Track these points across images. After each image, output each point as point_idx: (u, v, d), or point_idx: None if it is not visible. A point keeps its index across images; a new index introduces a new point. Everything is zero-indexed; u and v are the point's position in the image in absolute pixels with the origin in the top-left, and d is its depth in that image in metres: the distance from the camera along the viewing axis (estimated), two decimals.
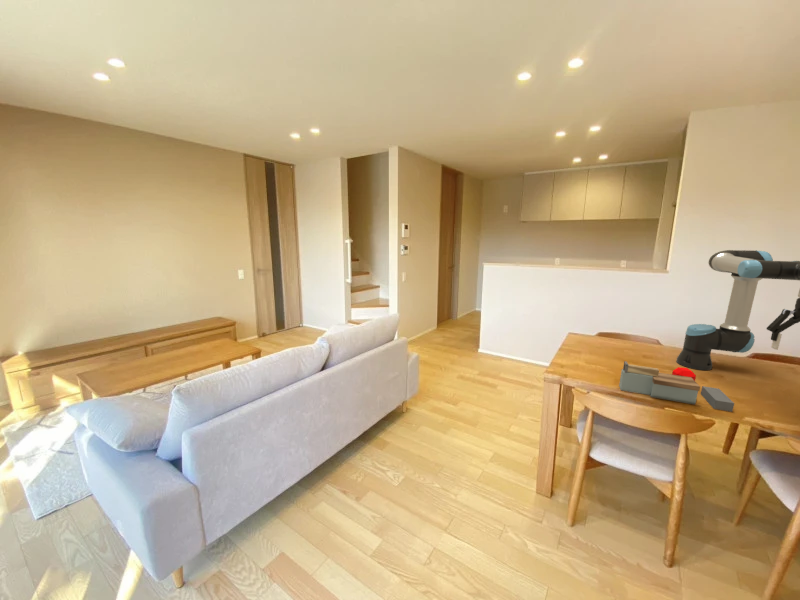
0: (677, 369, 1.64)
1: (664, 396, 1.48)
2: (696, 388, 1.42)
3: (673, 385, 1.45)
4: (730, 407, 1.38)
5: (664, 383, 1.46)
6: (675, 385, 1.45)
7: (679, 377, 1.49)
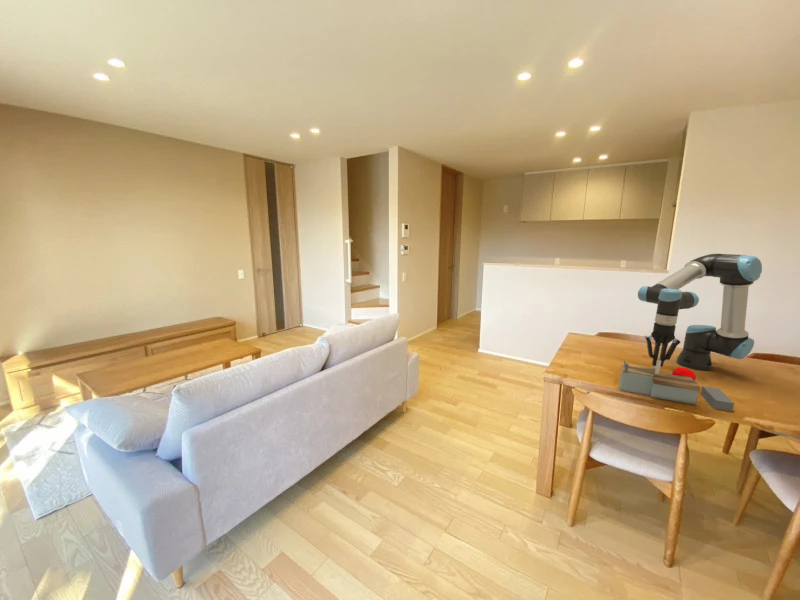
0: (677, 369, 1.64)
1: (664, 396, 1.48)
2: (696, 388, 1.42)
3: (673, 385, 1.45)
4: (730, 407, 1.38)
5: (664, 383, 1.46)
6: (675, 385, 1.45)
7: (679, 377, 1.49)
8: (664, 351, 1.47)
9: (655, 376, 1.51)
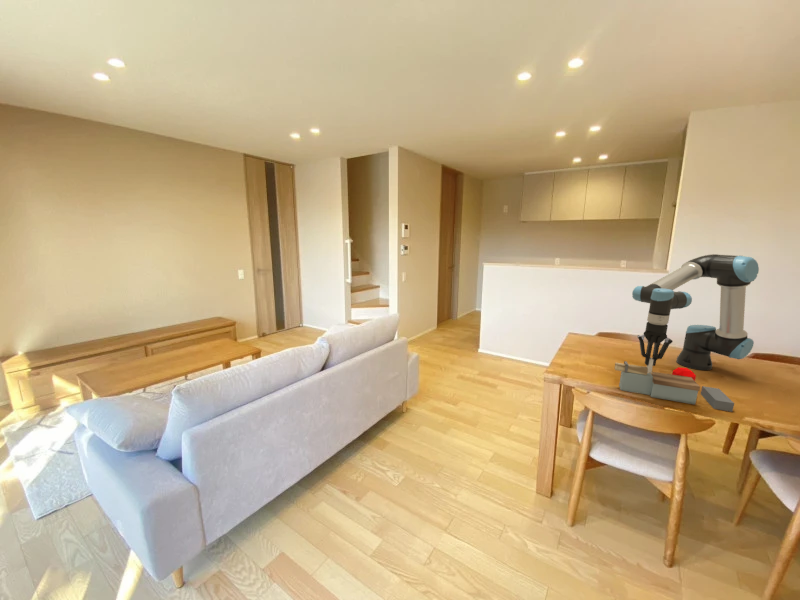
0: (677, 369, 1.64)
1: (664, 396, 1.48)
2: (696, 388, 1.42)
3: (673, 385, 1.45)
4: (730, 407, 1.38)
5: (664, 383, 1.46)
6: (675, 385, 1.45)
7: (679, 377, 1.49)
8: (656, 350, 1.48)
9: (655, 376, 1.51)
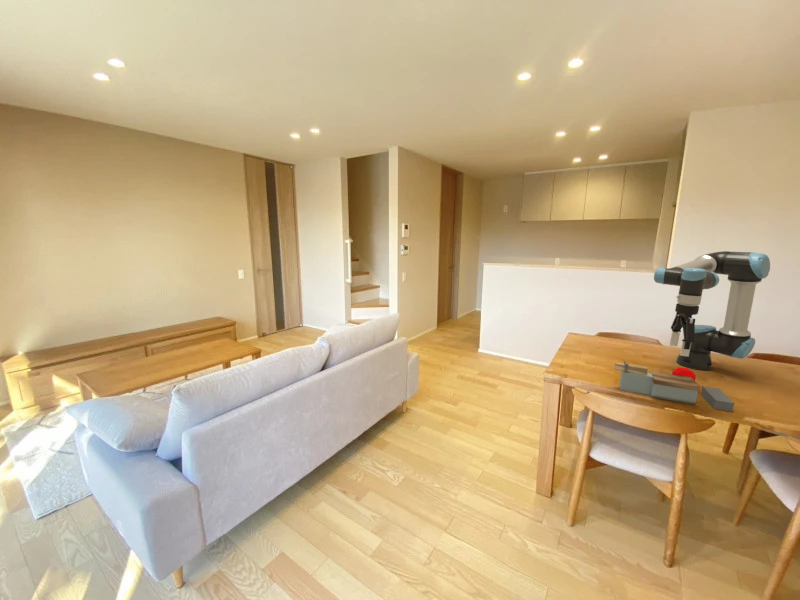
0: (677, 369, 1.64)
1: (664, 396, 1.48)
2: (696, 388, 1.42)
3: (673, 385, 1.45)
4: (730, 407, 1.38)
5: (664, 383, 1.46)
6: (675, 385, 1.45)
7: (679, 377, 1.49)
8: (683, 331, 1.39)
9: (655, 376, 1.51)
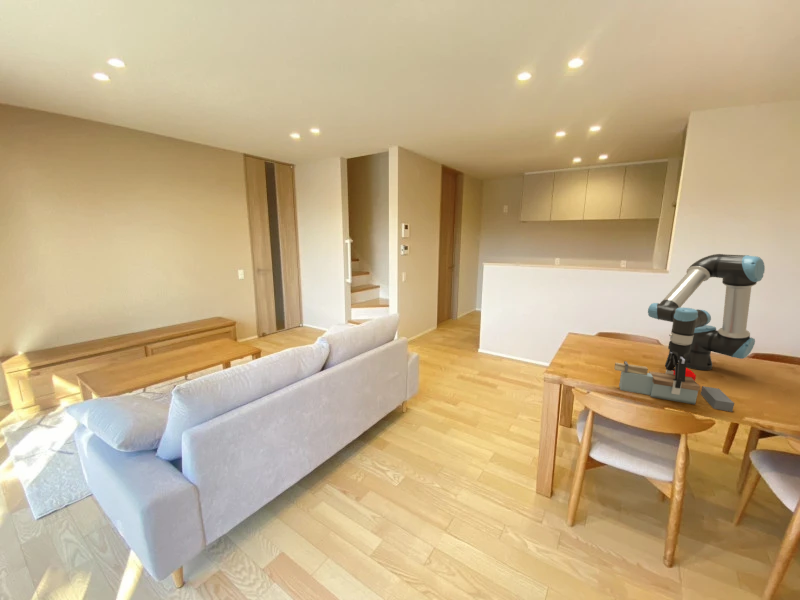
0: None
1: (664, 396, 1.48)
2: (696, 388, 1.42)
3: None
4: (730, 407, 1.38)
5: (664, 383, 1.46)
6: None
7: None
8: (675, 370, 1.44)
9: (655, 376, 1.51)
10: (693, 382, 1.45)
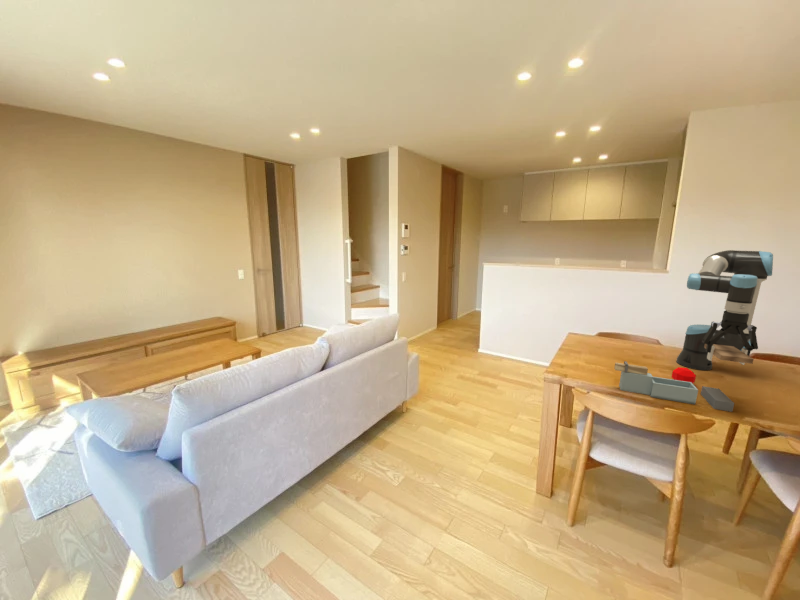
0: (677, 369, 1.64)
1: (664, 396, 1.48)
2: None
3: None
4: (730, 407, 1.38)
5: None
6: None
7: (719, 347, 1.43)
8: (745, 340, 1.36)
9: (737, 356, 1.34)
10: (723, 345, 1.46)
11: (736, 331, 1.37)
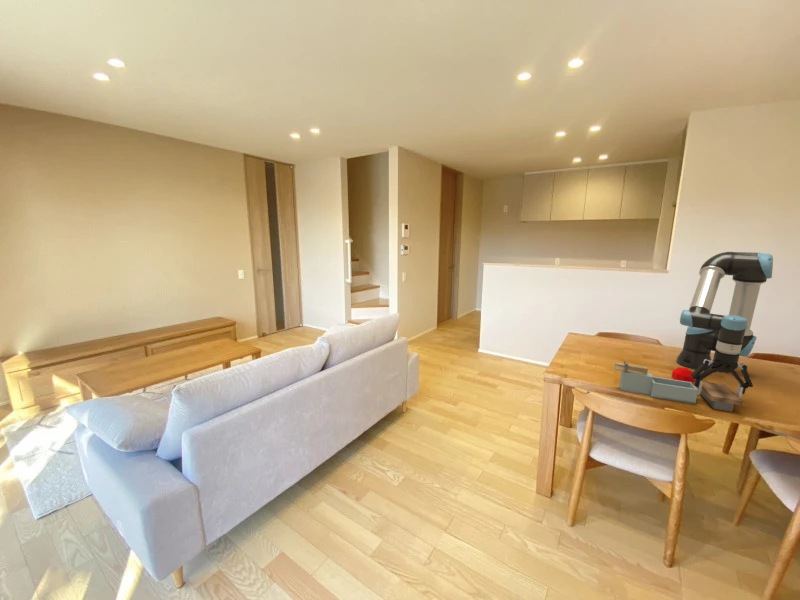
0: (677, 369, 1.64)
1: (664, 396, 1.48)
2: None
3: None
4: (730, 407, 1.38)
5: None
6: None
7: (710, 386, 1.48)
8: (739, 379, 1.40)
9: (727, 397, 1.38)
10: (714, 384, 1.50)
11: (727, 370, 1.41)
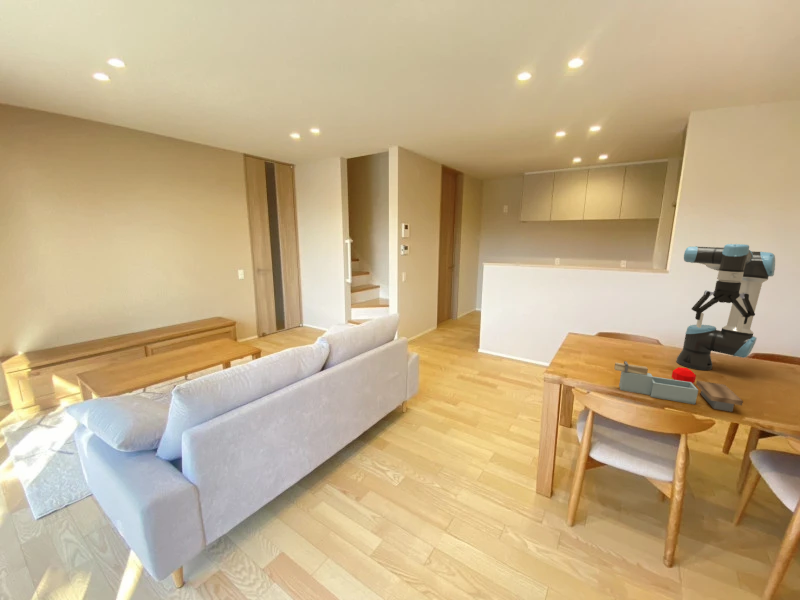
0: (677, 369, 1.64)
1: (664, 396, 1.48)
2: None
3: None
4: (730, 407, 1.38)
5: None
6: None
7: (710, 386, 1.48)
8: (741, 308, 1.38)
9: (727, 397, 1.38)
10: (714, 384, 1.50)
11: (728, 300, 1.39)
